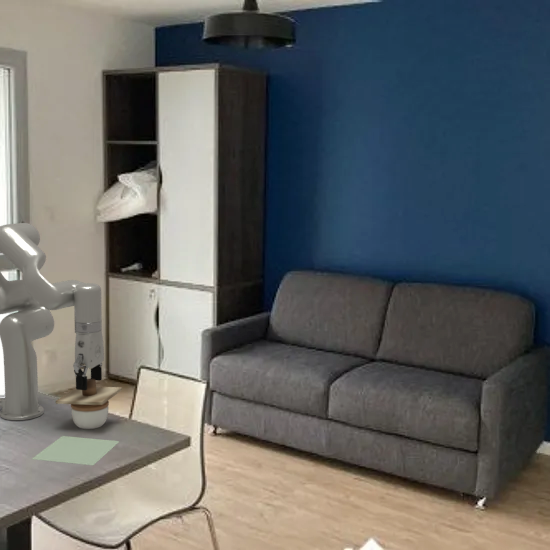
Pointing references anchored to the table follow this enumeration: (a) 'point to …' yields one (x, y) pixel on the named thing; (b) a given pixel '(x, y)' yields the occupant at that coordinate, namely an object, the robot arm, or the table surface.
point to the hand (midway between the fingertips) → (89, 384)
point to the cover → (89, 395)
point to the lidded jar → (89, 415)
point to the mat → (76, 450)
